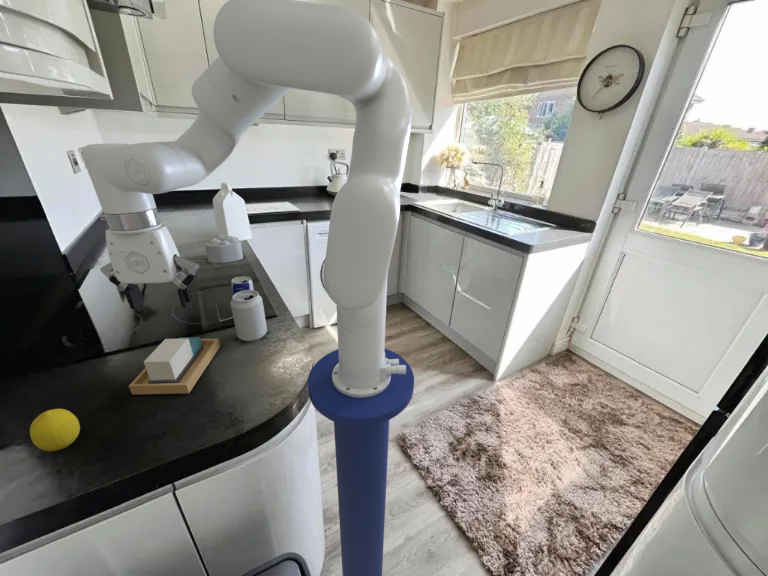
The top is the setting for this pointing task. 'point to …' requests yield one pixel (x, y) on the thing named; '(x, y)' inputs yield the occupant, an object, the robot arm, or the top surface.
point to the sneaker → (172, 359)
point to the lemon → (54, 429)
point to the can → (248, 315)
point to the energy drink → (241, 284)
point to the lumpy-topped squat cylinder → (223, 249)
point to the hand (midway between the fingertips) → (163, 305)
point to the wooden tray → (187, 381)
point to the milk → (231, 214)
